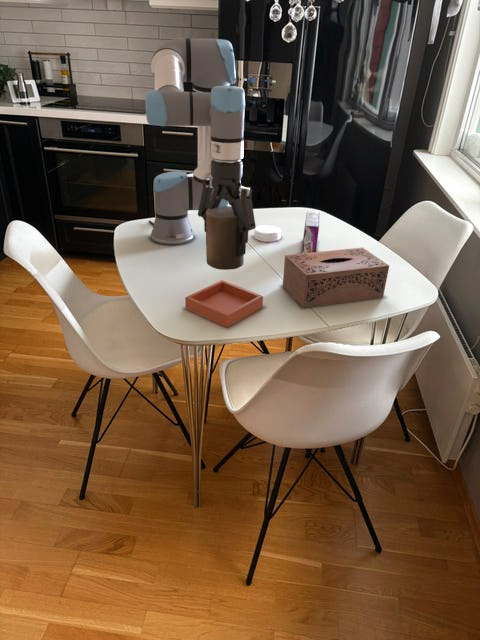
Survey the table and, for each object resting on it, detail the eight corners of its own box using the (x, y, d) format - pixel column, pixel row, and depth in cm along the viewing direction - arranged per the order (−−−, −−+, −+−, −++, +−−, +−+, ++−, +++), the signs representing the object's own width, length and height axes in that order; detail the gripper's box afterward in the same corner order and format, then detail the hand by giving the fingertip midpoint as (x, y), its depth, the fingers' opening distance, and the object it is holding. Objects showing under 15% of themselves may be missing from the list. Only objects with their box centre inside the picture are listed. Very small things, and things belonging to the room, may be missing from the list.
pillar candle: (236, 272, 121) (238, 213, 113) (200, 266, 123) (199, 208, 116) (248, 258, 129) (250, 203, 121) (214, 253, 131) (214, 198, 124)
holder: (185, 308, 132) (185, 297, 130) (221, 290, 142) (222, 280, 140) (227, 327, 123) (227, 315, 122) (262, 307, 134) (263, 296, 132)
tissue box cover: (302, 308, 134) (306, 275, 129) (282, 286, 146) (285, 255, 141) (383, 297, 141) (389, 265, 136) (357, 277, 153) (362, 247, 148)
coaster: (261, 243, 176) (261, 234, 175) (249, 234, 184) (250, 225, 183) (285, 240, 180) (285, 231, 178) (273, 231, 188) (273, 223, 186)
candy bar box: (300, 256, 167) (303, 240, 181) (315, 257, 166) (316, 241, 181) (304, 224, 161) (306, 211, 176) (319, 226, 161) (320, 212, 175)
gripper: (181, 154, 117) (184, 242, 128) (254, 169, 104) (250, 265, 115) (203, 150, 122) (203, 235, 133) (274, 164, 110) (268, 257, 121)
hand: (225, 249), depth 124 cm, fingers closed on pillar candle, 10 cm apart
